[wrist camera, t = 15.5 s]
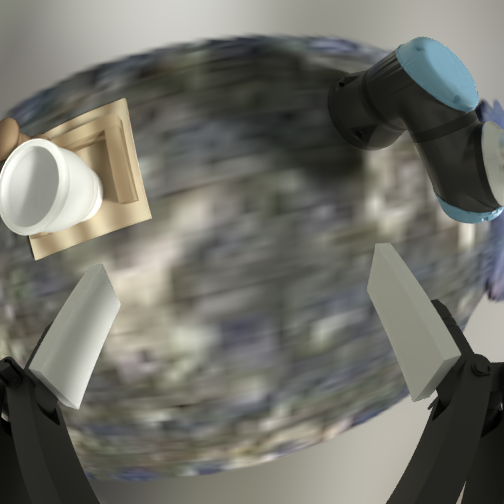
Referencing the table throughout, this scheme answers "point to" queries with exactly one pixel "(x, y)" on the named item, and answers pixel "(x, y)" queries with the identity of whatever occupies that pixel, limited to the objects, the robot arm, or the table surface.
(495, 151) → the robot arm
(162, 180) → the table surface
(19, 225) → the jar
